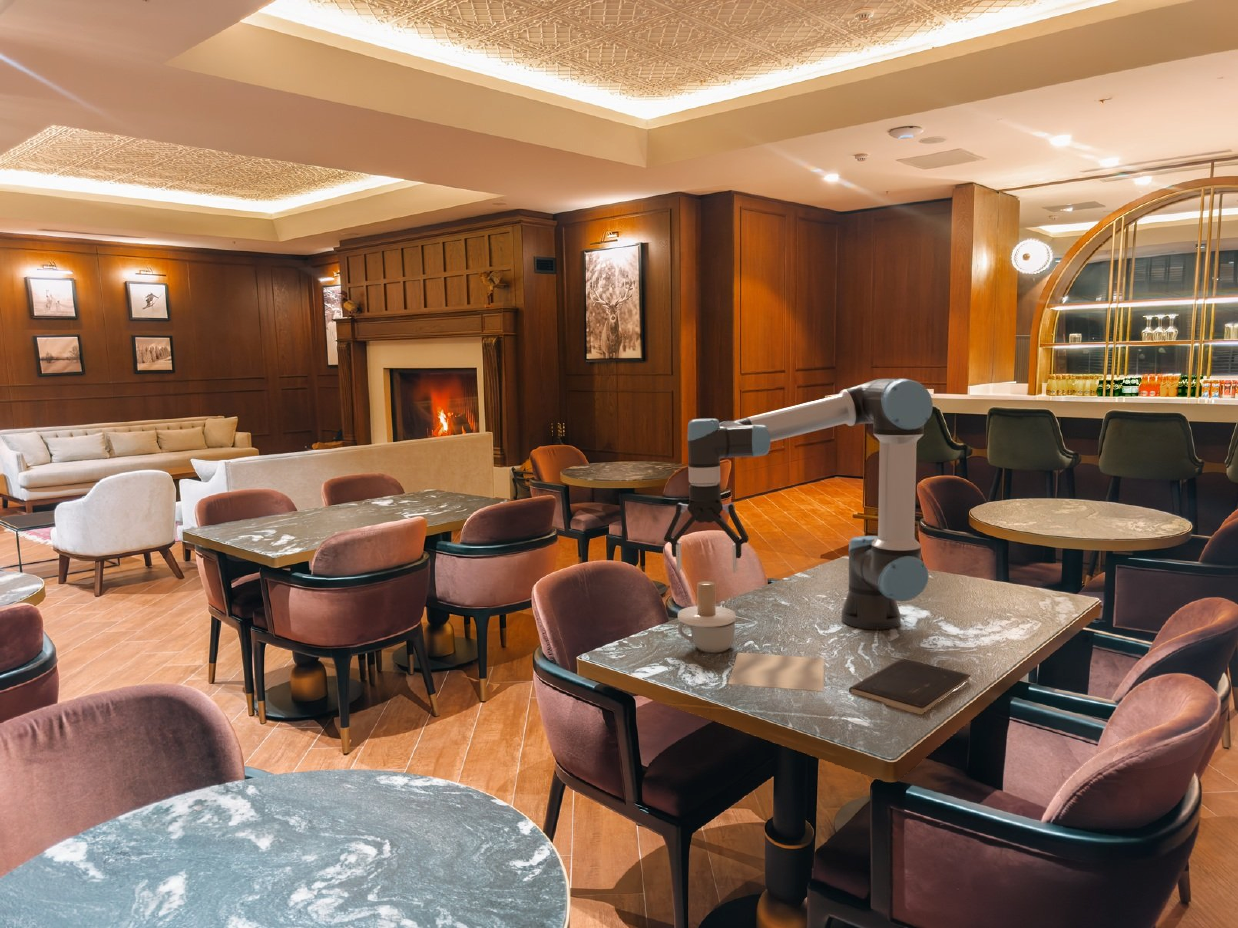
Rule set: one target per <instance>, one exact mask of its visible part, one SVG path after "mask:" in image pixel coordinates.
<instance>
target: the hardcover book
mask: <svg viewBox="0 0 1238 928" xmlns="http://www.w3.org/2000/svg"><path fill="white" fill-rule="evenodd" d="M970 677H971V674H969V673H964V672H961V671H956V670H952V669H948V668H943V667H939V666H937V665H931V664H928V663H923V662H920V661H915V660H911V659H907V658H903V657H902V658H900V659H898V660H896V661H894V662H893V663H891V664H889V665H888V666H886V667H884V668H882V669H880V670H879V671H877V672H875V673H873V674H872V675H870V676H868V677H866V678H864V679H862V680H861V681H859V682H857V683H855V684H854V685H852V686H850V687H849V688H848V693H852V694H856V695H858V696H862V697H865V698H869V699H872V700H876V701H879V702H881V703H884V705H887V706H889V707H893V708H896V709H900V710H902V711H903V710H904V711H907V712H910V713H913V712H915V713H914V714H916V713H917V715H920V714H922V715H923V714H925V713H926V712H928V711H929V710H930V709H932V708H933V707H935V706H936V705H937V704H936V703H937V702H939V701H940V700H941V699H943V698H944V697H945V696H947V695H948V694H949V693H951V692H952V691H953V690H954V689H956V688H958V687H959V686H961V685H962V684H963V683H964V682H966V681H967V680H968V681H969V678H970ZM943 700H944V699H943ZM939 703H940V702H939ZM935 704H936V705H935ZM934 705H935V706H934ZM932 706H933V707H932ZM931 707H932V708H931ZM928 709H929V710H928ZM927 710H928V711H927ZM924 712H925V713H924Z"/></svg>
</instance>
